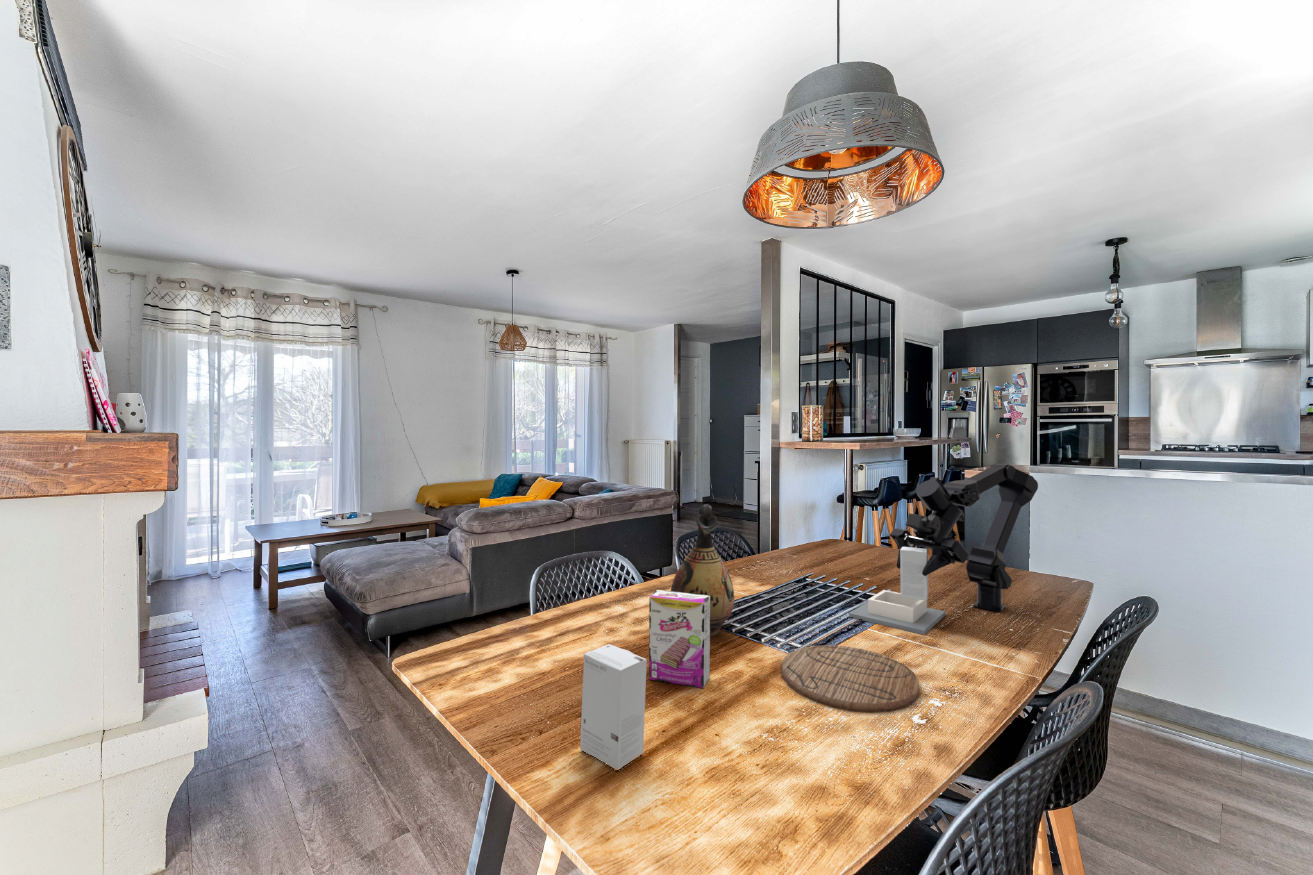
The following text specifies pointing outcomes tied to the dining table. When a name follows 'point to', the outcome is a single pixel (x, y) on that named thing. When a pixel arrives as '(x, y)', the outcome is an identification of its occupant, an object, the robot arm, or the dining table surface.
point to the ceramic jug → (707, 573)
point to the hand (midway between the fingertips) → (910, 571)
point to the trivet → (850, 678)
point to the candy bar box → (679, 638)
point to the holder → (896, 606)
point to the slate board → (918, 626)
